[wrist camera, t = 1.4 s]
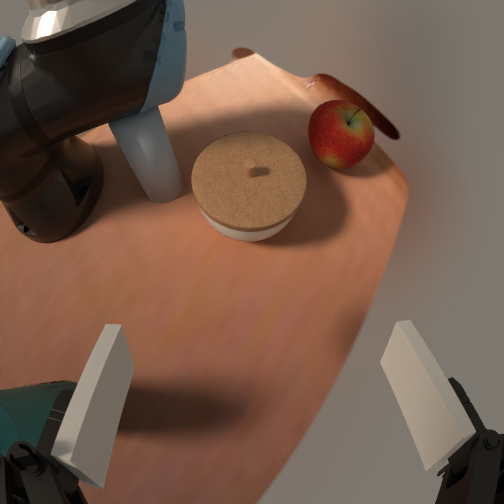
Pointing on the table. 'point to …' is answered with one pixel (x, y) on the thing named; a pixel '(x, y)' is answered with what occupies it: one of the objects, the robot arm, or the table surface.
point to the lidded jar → (248, 185)
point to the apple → (340, 133)
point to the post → (150, 154)
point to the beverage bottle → (27, 411)
